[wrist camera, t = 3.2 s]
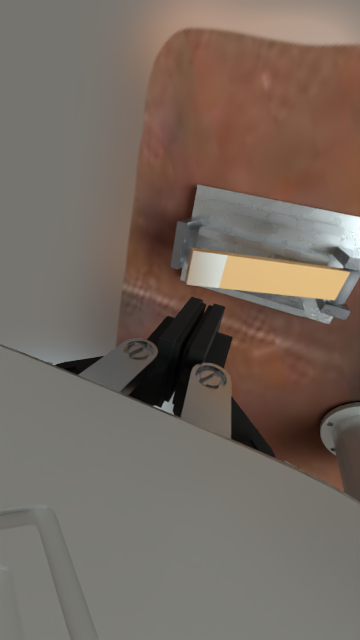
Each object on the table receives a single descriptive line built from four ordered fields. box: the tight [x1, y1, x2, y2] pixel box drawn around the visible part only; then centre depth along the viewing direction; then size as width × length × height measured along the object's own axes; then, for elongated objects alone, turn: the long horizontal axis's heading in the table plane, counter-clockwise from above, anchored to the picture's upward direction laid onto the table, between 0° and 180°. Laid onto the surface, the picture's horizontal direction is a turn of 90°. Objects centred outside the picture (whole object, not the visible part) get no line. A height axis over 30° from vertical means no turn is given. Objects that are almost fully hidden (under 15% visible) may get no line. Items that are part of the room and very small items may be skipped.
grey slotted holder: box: [170, 185, 360, 324], centre depth 27 cm, size 20×12×8 cm, turn 80°
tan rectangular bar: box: [185, 247, 360, 304], centre depth 22 cm, size 17×3×2 cm, turn 80°
